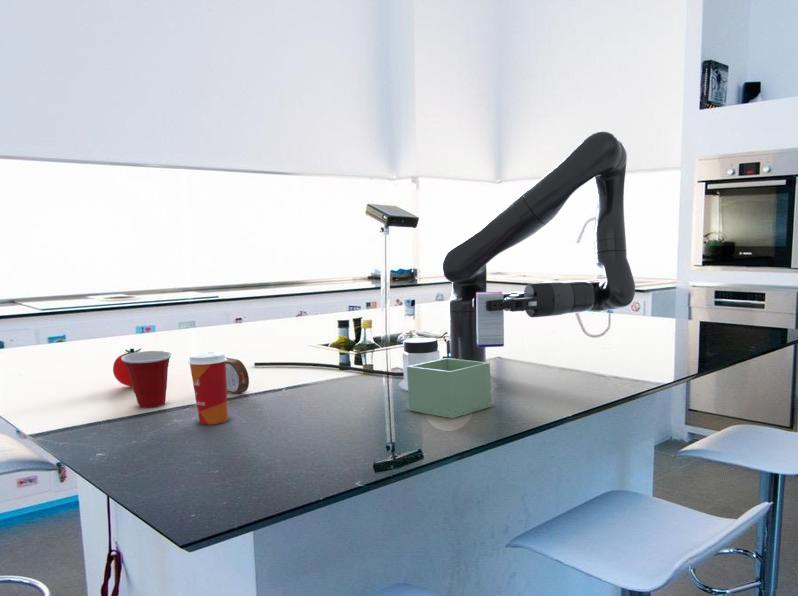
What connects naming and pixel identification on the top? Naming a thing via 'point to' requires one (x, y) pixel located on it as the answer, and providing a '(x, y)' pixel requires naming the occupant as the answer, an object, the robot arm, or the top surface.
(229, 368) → the tin
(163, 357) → the plastic cup
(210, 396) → the paper cup
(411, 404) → the mint green storage bin
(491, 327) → the supplement box
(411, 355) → the jar
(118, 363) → the tomato
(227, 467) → the top surface
